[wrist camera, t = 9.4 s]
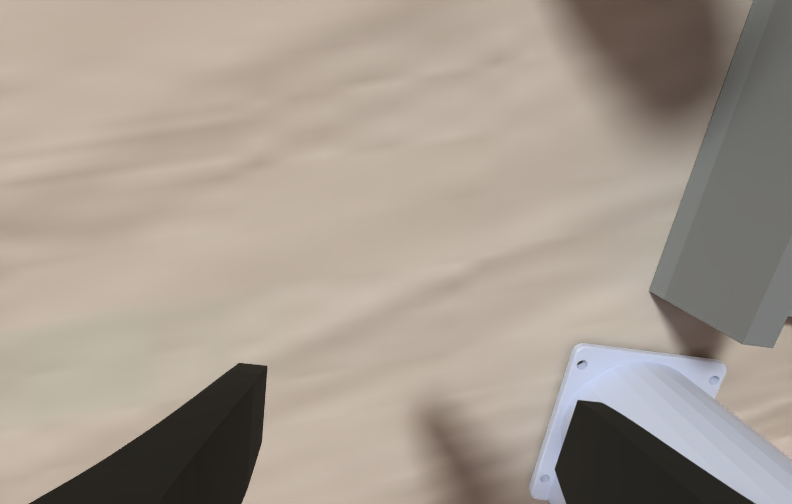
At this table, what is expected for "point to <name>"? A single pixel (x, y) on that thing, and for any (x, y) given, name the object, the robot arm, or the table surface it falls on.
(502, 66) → the table surface
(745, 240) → the board
